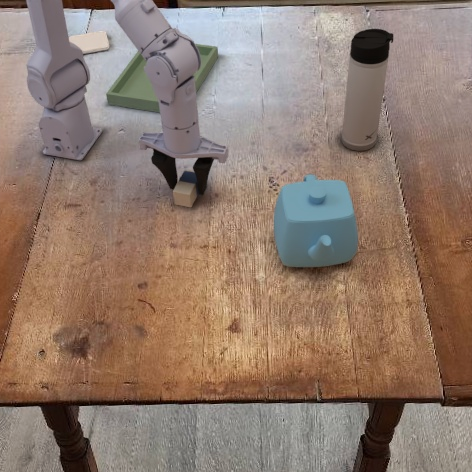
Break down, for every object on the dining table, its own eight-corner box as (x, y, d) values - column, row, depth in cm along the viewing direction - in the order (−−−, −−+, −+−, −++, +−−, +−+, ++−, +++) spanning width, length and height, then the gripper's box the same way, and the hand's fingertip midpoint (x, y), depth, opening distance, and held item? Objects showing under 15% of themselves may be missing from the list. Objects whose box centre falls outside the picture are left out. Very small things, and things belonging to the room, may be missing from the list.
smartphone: (37, 41, 148) (105, 30, 150) (38, 45, 149) (106, 33, 150) (39, 58, 144) (109, 46, 145) (40, 62, 144) (110, 49, 146)
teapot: (282, 300, 100) (283, 244, 91) (269, 217, 112) (269, 160, 102) (365, 293, 101) (374, 237, 92) (344, 211, 112) (350, 154, 103)
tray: (182, 116, 130) (180, 105, 128) (108, 104, 133) (105, 93, 132) (218, 57, 143) (217, 46, 141) (149, 48, 146) (148, 37, 144)
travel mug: (376, 153, 121) (392, 46, 105) (339, 149, 122) (349, 43, 106) (379, 132, 124) (395, 26, 109) (343, 129, 125) (353, 23, 110)
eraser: (191, 207, 114) (189, 194, 112) (174, 204, 115) (172, 191, 112) (203, 185, 117) (202, 171, 115) (186, 182, 118) (185, 168, 116)
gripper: (232, 110, 105) (236, 180, 116) (146, 97, 108) (157, 166, 119) (218, 137, 101) (223, 207, 111) (128, 123, 104) (141, 192, 115)
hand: (188, 188), depth 115 cm, fingers open, 5 cm apart
